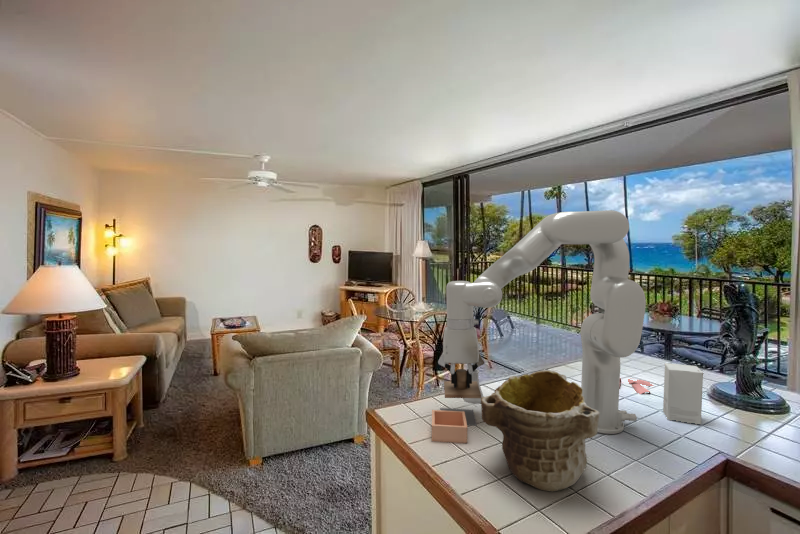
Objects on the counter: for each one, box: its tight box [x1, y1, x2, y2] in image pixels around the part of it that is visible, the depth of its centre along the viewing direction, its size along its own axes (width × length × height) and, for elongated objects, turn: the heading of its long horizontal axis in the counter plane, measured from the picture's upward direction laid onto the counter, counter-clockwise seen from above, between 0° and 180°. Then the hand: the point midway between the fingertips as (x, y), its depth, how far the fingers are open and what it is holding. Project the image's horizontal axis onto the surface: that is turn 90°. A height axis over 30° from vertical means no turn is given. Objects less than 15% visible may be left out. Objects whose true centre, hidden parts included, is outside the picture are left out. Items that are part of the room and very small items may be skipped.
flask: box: [462, 368, 485, 405], centre depth 121 cm, size 7×7×10 cm
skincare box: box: [662, 362, 704, 425], centre depth 109 cm, size 8×7×16 cm
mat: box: [439, 407, 477, 427], centre depth 109 cm, size 10×10×1 cm
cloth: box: [619, 377, 654, 395], centre depth 135 cm, size 20×22×2 cm
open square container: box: [431, 409, 468, 444], centre depth 99 cm, size 9×9×4 cm
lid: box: [443, 368, 481, 399], centre depth 108 cm, size 10×10×6 cm
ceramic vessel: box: [480, 369, 600, 492], centre depth 82 cm, size 23×24×25 cm
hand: (461, 385), depth 108 cm, fingers closed on lid, 3 cm apart
